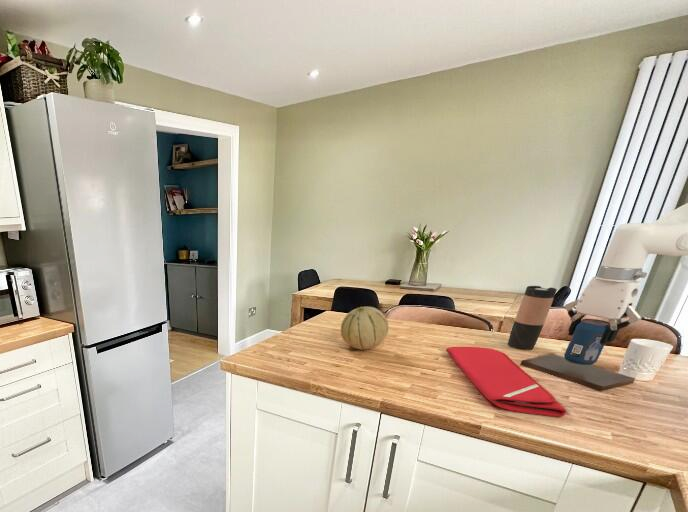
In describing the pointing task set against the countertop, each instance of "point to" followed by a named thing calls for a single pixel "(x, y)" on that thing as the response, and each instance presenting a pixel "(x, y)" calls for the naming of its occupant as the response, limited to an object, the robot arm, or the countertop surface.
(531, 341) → the travel mug
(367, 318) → the cantaloupe
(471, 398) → the countertop surface
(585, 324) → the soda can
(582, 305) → the robot arm
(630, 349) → the white cup
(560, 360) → the serving board
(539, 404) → the red folded napkin
